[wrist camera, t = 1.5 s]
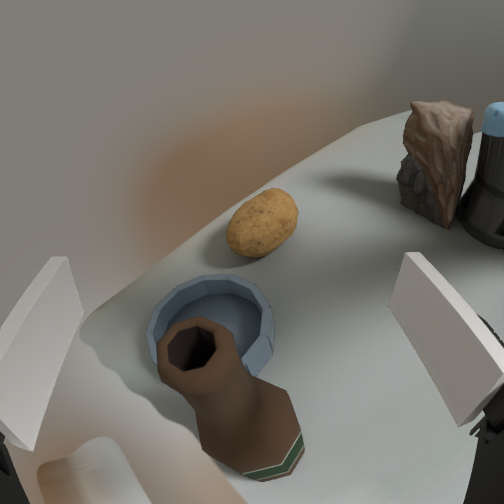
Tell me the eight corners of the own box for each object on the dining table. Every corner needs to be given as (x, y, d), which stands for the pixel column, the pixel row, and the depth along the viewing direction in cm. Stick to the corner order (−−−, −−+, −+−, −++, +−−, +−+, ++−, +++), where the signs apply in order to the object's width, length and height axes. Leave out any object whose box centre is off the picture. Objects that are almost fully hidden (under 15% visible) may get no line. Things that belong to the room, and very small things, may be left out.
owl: (392, 202, 54) (396, 101, 41) (421, 178, 59) (427, 91, 45) (447, 231, 46) (467, 124, 33) (470, 202, 50) (486, 110, 37)
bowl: (245, 277, 47) (239, 258, 45) (296, 358, 36) (293, 342, 33) (150, 319, 44) (138, 303, 42) (177, 411, 33) (163, 400, 30)
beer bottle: (219, 444, 29) (90, 332, 13) (275, 405, 32) (218, 251, 16) (261, 496, 24) (153, 474, 8) (320, 453, 27) (329, 351, 11)
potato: (217, 260, 51) (203, 222, 46) (267, 213, 58) (260, 177, 53) (263, 282, 46) (254, 242, 41) (312, 228, 53) (309, 189, 48)
